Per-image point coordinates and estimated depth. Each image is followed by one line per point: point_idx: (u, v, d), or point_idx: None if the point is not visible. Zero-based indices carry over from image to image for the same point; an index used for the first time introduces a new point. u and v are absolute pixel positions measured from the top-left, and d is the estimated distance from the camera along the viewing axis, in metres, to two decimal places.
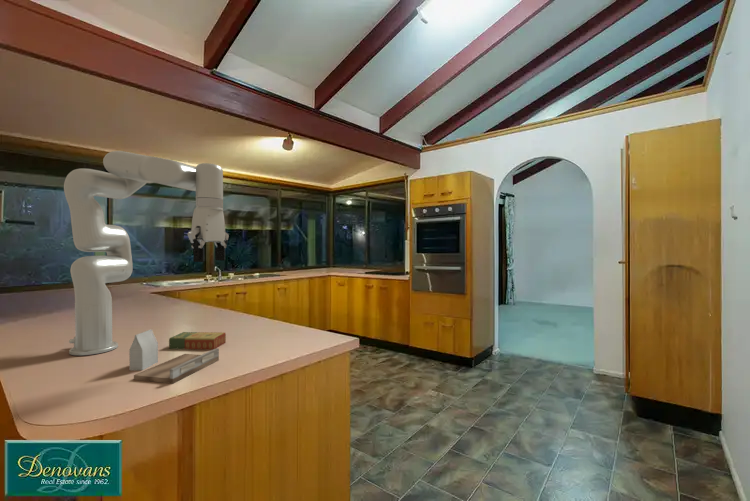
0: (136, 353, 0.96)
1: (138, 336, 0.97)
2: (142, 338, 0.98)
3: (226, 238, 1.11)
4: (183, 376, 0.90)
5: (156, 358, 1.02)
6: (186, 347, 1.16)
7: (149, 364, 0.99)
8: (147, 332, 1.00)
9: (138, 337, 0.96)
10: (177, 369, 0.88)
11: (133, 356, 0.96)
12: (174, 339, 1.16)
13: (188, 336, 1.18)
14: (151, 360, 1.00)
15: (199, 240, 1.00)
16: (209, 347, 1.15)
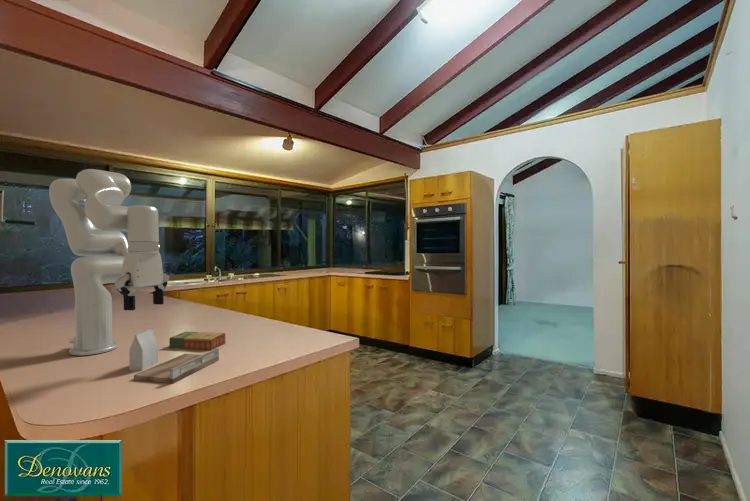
0: (136, 353, 0.96)
1: (138, 336, 0.97)
2: (142, 338, 0.98)
3: (166, 280, 1.06)
4: (183, 376, 0.90)
5: (156, 358, 1.02)
6: (185, 347, 1.16)
7: (149, 364, 0.99)
8: (147, 332, 1.00)
9: (138, 337, 0.96)
10: (177, 369, 0.88)
11: (133, 356, 0.96)
12: (174, 339, 1.16)
13: (188, 336, 1.18)
14: (151, 361, 1.00)
15: (130, 287, 0.94)
16: (207, 348, 1.15)
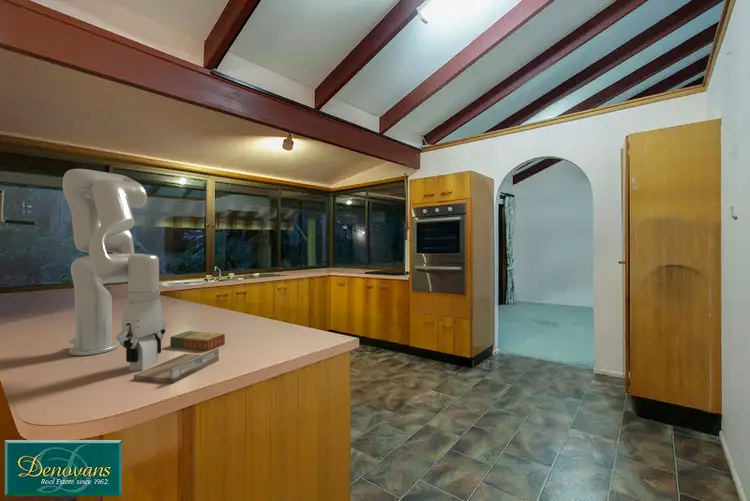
0: None
1: None
2: (142, 338, 0.98)
3: (164, 327, 1.06)
4: (183, 376, 0.90)
5: (156, 358, 1.02)
6: (184, 347, 1.16)
7: (149, 364, 0.99)
8: None
9: None
10: (177, 369, 0.88)
11: None
12: (174, 338, 1.17)
13: (188, 335, 1.18)
14: (151, 360, 1.00)
15: (131, 338, 0.95)
16: (204, 348, 1.14)
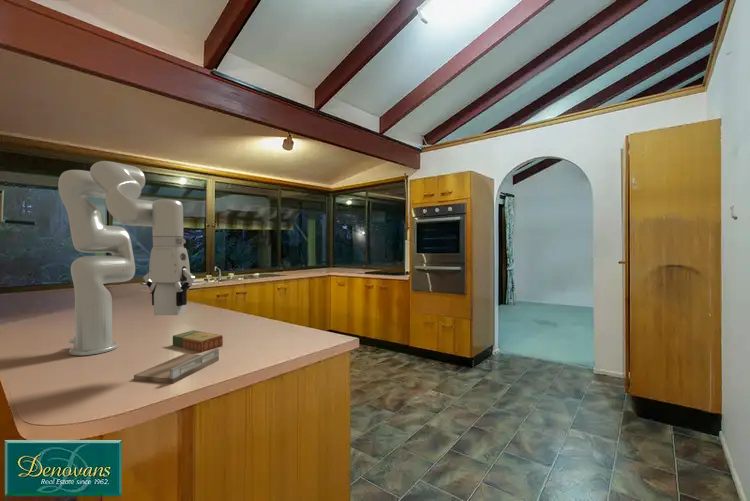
0: None
1: None
2: (162, 284, 0.97)
3: (187, 281, 0.95)
4: (183, 376, 0.90)
5: (175, 310, 0.95)
6: (183, 346, 1.17)
7: (164, 312, 0.96)
8: None
9: None
10: (177, 369, 0.88)
11: None
12: (175, 337, 1.19)
13: (188, 335, 1.19)
14: (167, 310, 0.96)
15: None
16: (198, 349, 1.13)
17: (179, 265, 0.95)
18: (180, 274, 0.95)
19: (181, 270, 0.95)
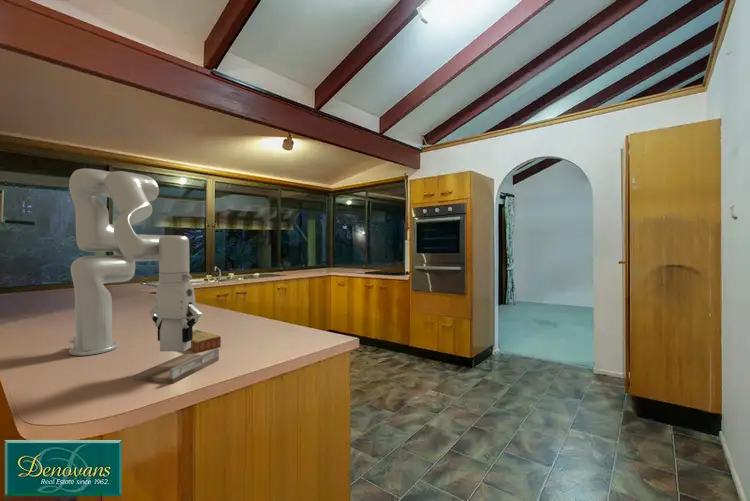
0: None
1: None
2: (168, 320, 0.97)
3: (194, 317, 0.95)
4: (183, 376, 0.90)
5: (181, 346, 0.95)
6: None
7: (170, 348, 0.95)
8: None
9: None
10: (177, 369, 0.88)
11: None
12: None
13: None
14: (173, 346, 0.95)
15: None
16: (195, 350, 1.12)
17: (185, 301, 0.95)
18: (186, 310, 0.95)
19: (187, 306, 0.95)
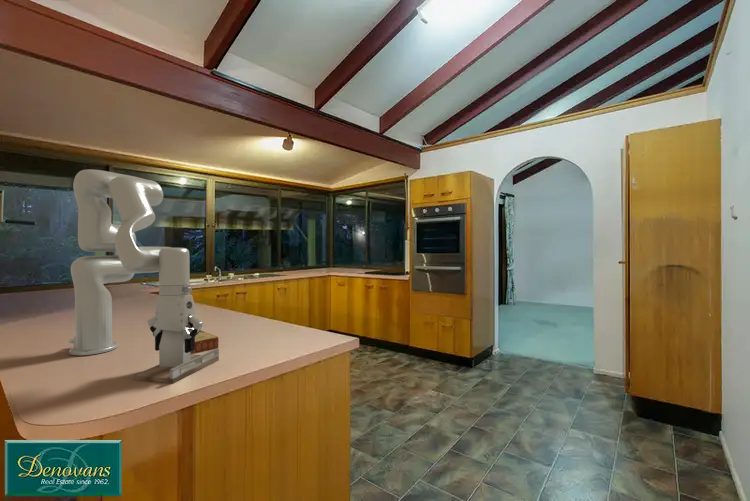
0: None
1: (165, 331, 0.97)
2: (168, 335, 0.97)
3: (196, 327, 0.95)
4: (183, 376, 0.90)
5: (180, 361, 0.96)
6: None
7: (169, 364, 0.96)
8: None
9: (164, 332, 0.97)
10: (177, 369, 0.88)
11: None
12: None
13: None
14: (172, 361, 0.96)
15: None
16: None
17: (185, 314, 0.95)
18: (186, 323, 0.95)
19: (187, 319, 0.95)
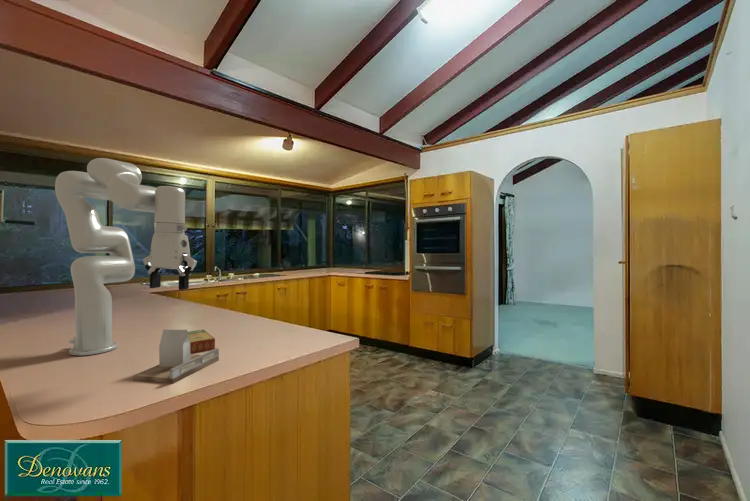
0: None
1: (165, 331, 0.97)
2: (168, 335, 0.97)
3: (190, 265, 0.96)
4: (183, 376, 0.90)
5: (180, 361, 0.96)
6: None
7: (169, 364, 0.96)
8: (178, 331, 0.97)
9: (164, 332, 0.97)
10: (177, 369, 0.88)
11: None
12: None
13: (189, 334, 1.20)
14: (172, 361, 0.96)
15: None
16: None
17: (180, 251, 0.96)
18: (180, 260, 0.96)
19: (182, 256, 0.97)
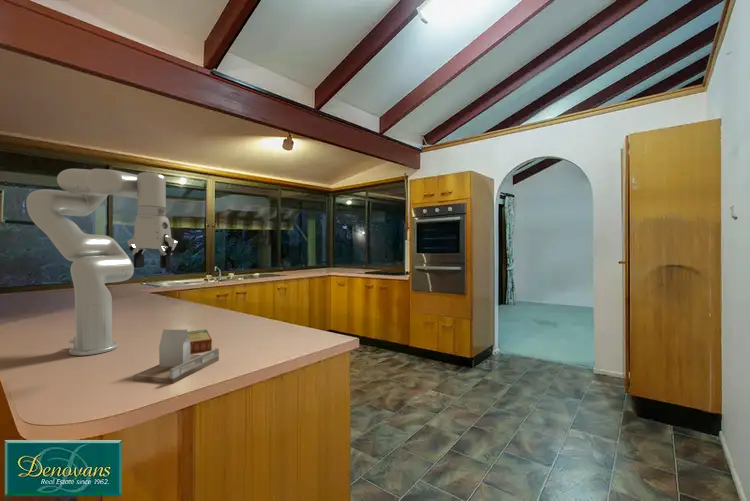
0: None
1: (165, 331, 0.97)
2: (168, 335, 0.97)
3: (170, 245, 1.04)
4: (183, 376, 0.90)
5: (180, 361, 0.96)
6: None
7: (169, 364, 0.96)
8: (178, 331, 0.97)
9: (164, 332, 0.97)
10: (177, 369, 0.88)
11: None
12: None
13: (190, 334, 1.20)
14: (172, 361, 0.96)
15: None
16: None
17: (161, 232, 1.04)
18: (162, 241, 1.04)
19: (163, 237, 1.04)
